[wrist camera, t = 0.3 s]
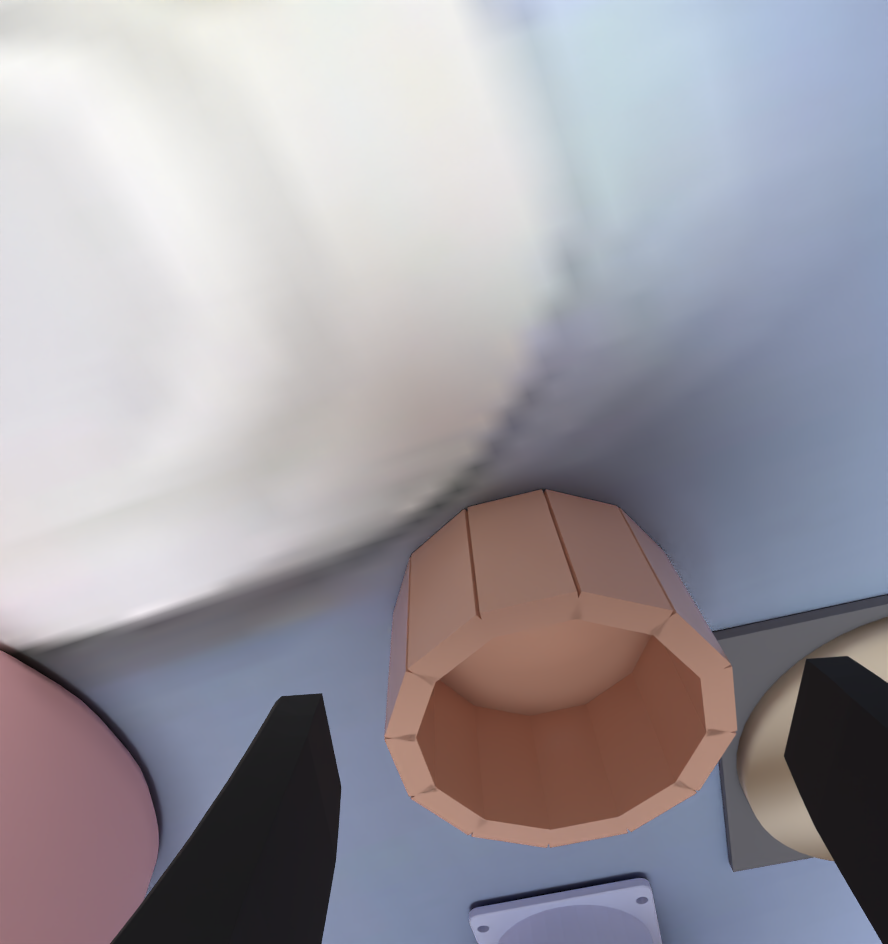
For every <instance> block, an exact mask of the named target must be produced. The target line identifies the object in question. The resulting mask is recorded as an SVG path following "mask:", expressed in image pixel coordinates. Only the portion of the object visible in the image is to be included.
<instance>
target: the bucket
mask: <svg viewBox="0 0 888 944" xmlns="http://www.w3.org/2000/svg"><path fill="white" fill-rule="evenodd" d="M467 508H468V511H466V510H465V509H463V510H462V511H461V512H460V513H459V514H458V515H456V516H455V517H454V518H453V519H452V520H451V521H449V522H448V523H447V524H446V525H445V526H444V527H442V528H441V529H440V530H439V531H438V532H437V533H436V534H434V535H433V536H432V537H431V538H430V539H429V540H427V541H426V542H425V543H424V544H423V545H422V546H420V547H419V548H418V549H417V550H416V551H415V552H413V553H412V554H411V557H410V558H409V561H408V564H407V568H406V571H405V575H404V578H403V581H402V585H401V588H400V591H399V595H398V598H397V601H396V605H395V608H394V611H393V619H392V634H391V648H390V663H389V677H388V692H387V706H386V721H385V735H384V737H385V742H386V744H387V747H388V749H389V751H390V754H391V756H392V758H393V761H394V763H395V765H396V767H397V770H398V772H399V774H400V777H401V779H402V781H403V784H404V786H405V788H406V791H407V793H408V795H409V796H411V799H412V800H414V801H415V802H417V803H418V804H420V805H422V806H423V807H425V808H426V809H428V810H429V811H431V812H433V813H434V814H436V815H437V816H439V817H440V818H442V819H444V820H445V821H447V822H448V823H450V824H451V825H453V826H455V827H456V828H458V829H459V830H461V831H462V832H464V833H465V834H467V835H470V834H471V835H472V837H478V838H485V839H491V840H498V841H504V842H511V843H518V844H524V845H531V846H537V847H544V848H547V846H548V844H549V846H550V848H552V847H557V846H562V845H568V844H573V843H578V842H583V841H589V840H594V839H599V838H605V837H610V836H615V835H620V834H626V833H628V832H627V829H628V830H629V831H631V832H632V831H633V830H635V829H637V828H639V827H640V826H642V825H644V824H645V823H647V822H649V821H650V820H652V819H654V818H655V817H657V816H659V815H660V814H662V813H664V812H666V811H667V810H669V809H671V808H672V807H674V806H676V805H677V804H679V803H681V802H682V801H684V800H686V799H687V798H689V797H691V796H692V795H694V794H696V790H698V791H699V790H700V789H701V787H702V786H703V784H704V783H705V781H706V779H707V778H708V776H709V775H710V773H711V772H712V770H713V769H714V767H715V766H716V764H717V763H718V761H719V760H720V758H721V757H722V755H723V754H724V752H725V750H726V749H727V747H728V746H729V744H730V743H731V741H732V740H733V738H734V737H735V735H736V734H737V733H736V732H735V731H737V719H736V707H735V695H734V682H733V670H732V666H731V663H730V662H729V660H728V658H727V657H726V655H725V653H724V652H723V650H722V648H721V647H720V645H719V643H718V641H717V640H716V638H715V636H714V635H713V633H712V631H711V630H710V628H709V626H708V625H707V623H706V621H705V620H704V618H703V616H702V614H701V613H700V611H699V609H698V608H697V606H696V604H695V603H694V601H693V599H692V598H691V596H690V594H689V593H688V591H687V589H686V588H685V586H684V584H683V582H682V581H681V579H680V577H679V576H678V574H677V572H676V571H675V569H674V567H673V566H672V564H671V562H670V561H669V559H668V557H667V555H666V554H665V552H664V551H663V550H662V549H661V548H660V547H659V546H658V545H657V544H656V543H655V542H654V541H653V540H652V539H651V538H650V537H649V536H648V535H647V534H646V533H645V532H644V531H643V530H642V529H641V528H640V527H639V526H638V525H637V524H636V523H635V522H634V521H633V520H632V519H631V518H630V517H629V516H628V515H627V514H626V513H625V512H624V511H623V510H622V509H621V508H620V507H619V508H618V507H617V506H615V505H611V504H607V503H603V502H598V501H594V500H590V499H586V498H581V497H577V496H573V495H569V494H564V493H560V492H556V491H552V490H547V489H545V492H544V493H543V491H542V489H541V490H536V491H532V492H528V493H524V494H520V495H516V496H511V497H507V498H503V499H499V500H495V501H491V502H487V503H482V504H478V505H474V506H470V507H467Z"/></svg>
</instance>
